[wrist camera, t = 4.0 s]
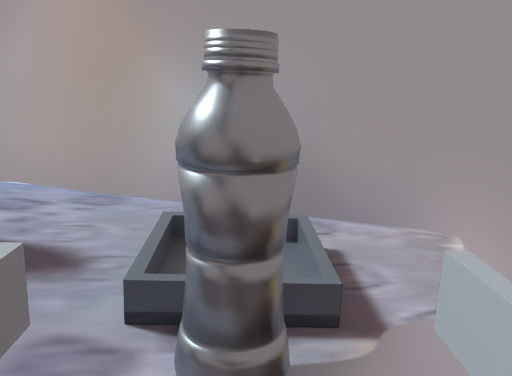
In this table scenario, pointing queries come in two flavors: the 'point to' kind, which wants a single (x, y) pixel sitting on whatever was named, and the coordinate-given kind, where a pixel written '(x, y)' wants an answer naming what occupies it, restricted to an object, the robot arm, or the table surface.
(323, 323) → the tray
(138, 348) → the table surface
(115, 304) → the table surface
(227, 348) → the silver metal bottle
